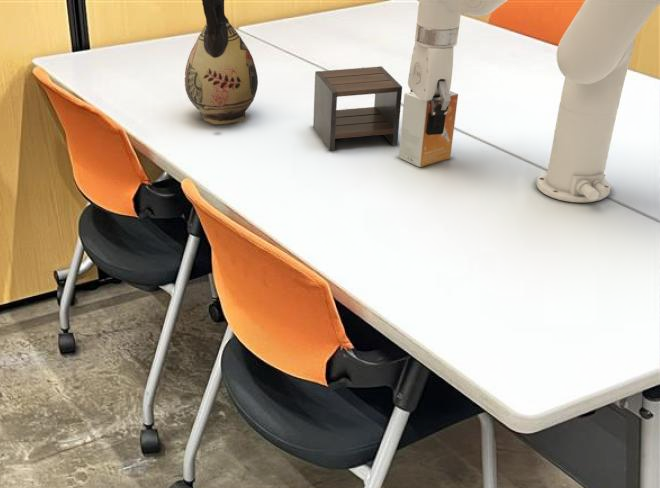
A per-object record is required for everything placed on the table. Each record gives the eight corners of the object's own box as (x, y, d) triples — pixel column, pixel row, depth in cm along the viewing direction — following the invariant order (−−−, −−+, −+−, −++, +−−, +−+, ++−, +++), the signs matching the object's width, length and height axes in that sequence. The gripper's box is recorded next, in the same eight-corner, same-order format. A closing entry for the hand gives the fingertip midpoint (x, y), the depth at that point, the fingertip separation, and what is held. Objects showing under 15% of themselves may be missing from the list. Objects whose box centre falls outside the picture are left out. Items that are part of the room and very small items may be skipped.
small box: (420, 168, 186) (426, 102, 179) (397, 157, 191) (403, 92, 184) (451, 158, 190) (459, 93, 183) (428, 148, 194) (435, 84, 187)
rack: (397, 145, 196) (402, 86, 190) (329, 151, 194) (332, 92, 188) (377, 122, 207) (381, 66, 200) (313, 127, 205) (315, 71, 199)
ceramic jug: (198, 102, 220) (194, -38, 203) (265, 108, 215) (266, -34, 199) (173, 129, 206) (166, -18, 190) (244, 136, 202) (243, -14, 186)
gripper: (401, 21, 184) (391, 109, 193) (433, 50, 170) (422, 143, 179) (439, 19, 185) (428, 106, 194) (474, 47, 171) (461, 140, 180)
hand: (425, 124), depth 187 cm, fingers open, 9 cm apart
